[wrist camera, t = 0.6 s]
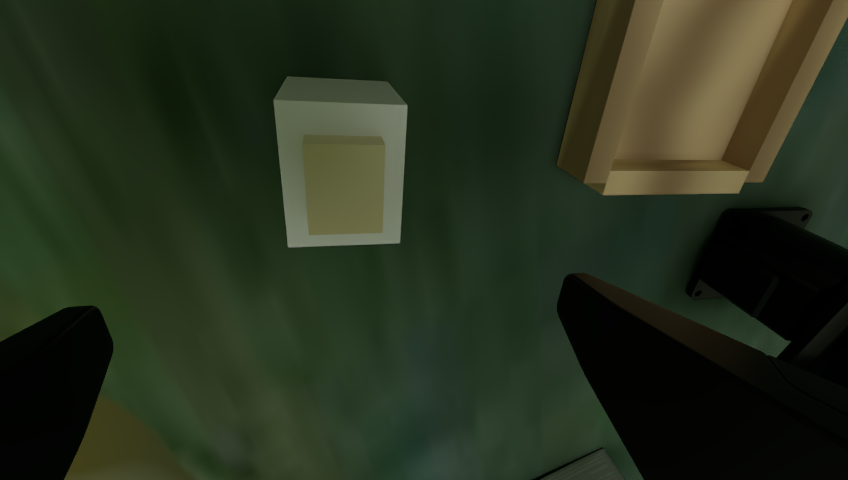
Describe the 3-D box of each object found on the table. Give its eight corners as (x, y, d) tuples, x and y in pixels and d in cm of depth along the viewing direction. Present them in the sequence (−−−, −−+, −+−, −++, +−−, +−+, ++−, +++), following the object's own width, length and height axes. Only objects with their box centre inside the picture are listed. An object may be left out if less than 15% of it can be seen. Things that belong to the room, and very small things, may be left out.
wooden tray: (829, -71, 18) (898, -83, 15) (717, 176, 23) (757, 193, 21) (623, -108, 15) (671, -127, 13) (553, 176, 21) (580, 195, 19)
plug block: (387, 81, 17) (413, 112, 12) (383, 191, 19) (404, 257, 14) (287, 76, 16) (269, 107, 11) (296, 192, 18) (285, 262, 13)
